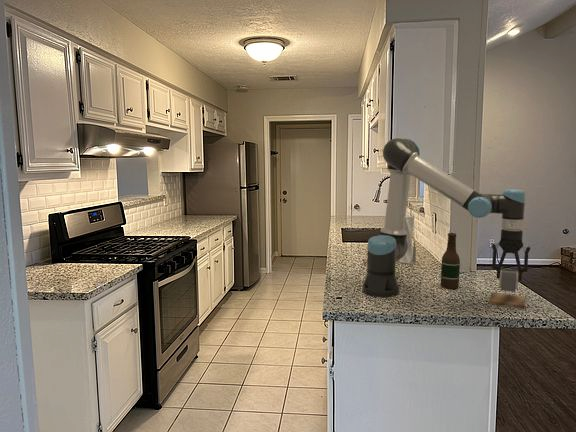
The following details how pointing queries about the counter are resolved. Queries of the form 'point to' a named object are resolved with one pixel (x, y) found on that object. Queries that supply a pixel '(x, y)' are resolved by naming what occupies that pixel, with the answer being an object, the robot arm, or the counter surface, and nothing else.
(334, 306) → the counter surface
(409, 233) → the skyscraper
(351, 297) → the counter surface
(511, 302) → the walnut board
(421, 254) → the counter surface
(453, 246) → the beer bottle
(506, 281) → the plug
